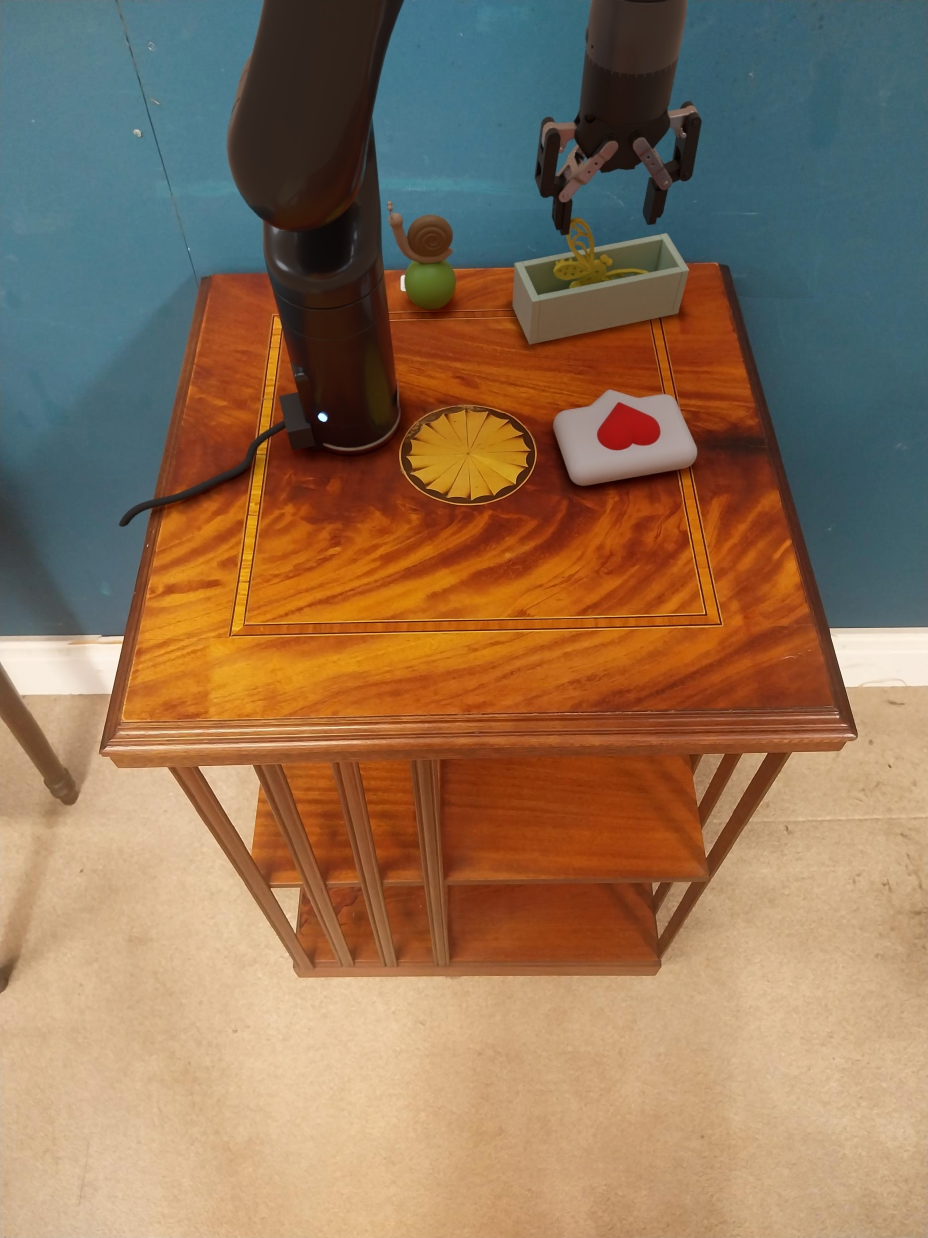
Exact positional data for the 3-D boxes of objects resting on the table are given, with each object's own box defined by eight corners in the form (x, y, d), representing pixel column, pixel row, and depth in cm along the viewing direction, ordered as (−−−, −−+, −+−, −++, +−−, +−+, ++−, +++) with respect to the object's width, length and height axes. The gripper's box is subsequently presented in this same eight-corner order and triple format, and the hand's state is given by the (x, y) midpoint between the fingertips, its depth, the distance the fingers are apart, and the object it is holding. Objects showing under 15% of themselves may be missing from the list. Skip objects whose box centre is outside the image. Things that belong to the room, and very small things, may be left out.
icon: (672, 362, 81) (708, 441, 76) (663, 394, 84) (697, 471, 80) (548, 382, 80) (576, 463, 75) (544, 414, 83) (571, 494, 79)
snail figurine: (395, 288, 93) (385, 186, 82) (453, 283, 93) (450, 180, 82) (398, 323, 90) (388, 221, 79) (459, 318, 90) (456, 216, 80)
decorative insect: (586, 337, 95) (656, 274, 89) (592, 358, 93) (664, 295, 87) (503, 282, 87) (574, 209, 81) (508, 304, 85) (581, 231, 79)
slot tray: (529, 344, 88) (532, 301, 83) (512, 306, 91) (514, 262, 86) (678, 313, 90) (689, 269, 85) (657, 276, 93) (666, 232, 88)
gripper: (556, 78, 66) (542, 259, 80) (733, 59, 67) (688, 240, 81) (535, 28, 69) (525, 209, 83) (704, 10, 70) (666, 192, 84)
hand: (606, 224), depth 82 cm, fingers open, 8 cm apart
